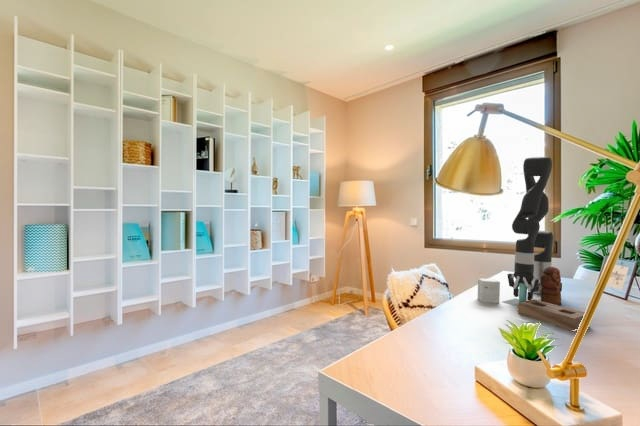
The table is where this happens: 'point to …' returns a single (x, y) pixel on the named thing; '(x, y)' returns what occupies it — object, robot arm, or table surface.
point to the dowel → (522, 292)
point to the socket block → (551, 314)
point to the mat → (512, 302)
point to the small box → (488, 290)
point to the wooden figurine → (551, 286)
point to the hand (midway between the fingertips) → (522, 298)
